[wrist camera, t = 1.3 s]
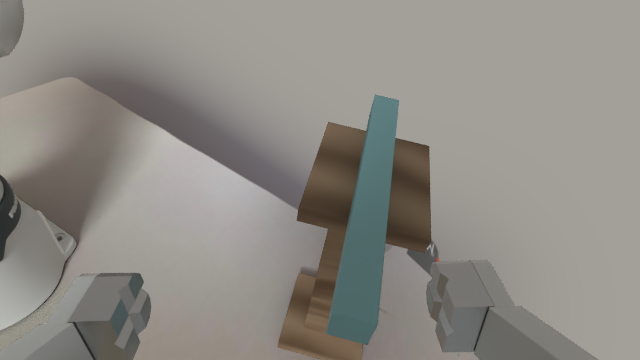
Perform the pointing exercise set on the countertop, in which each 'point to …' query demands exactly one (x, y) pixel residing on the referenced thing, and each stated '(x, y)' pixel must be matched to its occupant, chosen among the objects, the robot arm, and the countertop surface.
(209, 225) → the countertop surface
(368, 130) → the teal bar
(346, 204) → the walnut stand
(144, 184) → the countertop surface
